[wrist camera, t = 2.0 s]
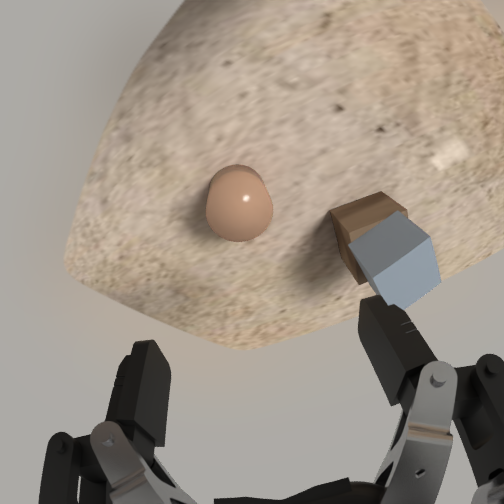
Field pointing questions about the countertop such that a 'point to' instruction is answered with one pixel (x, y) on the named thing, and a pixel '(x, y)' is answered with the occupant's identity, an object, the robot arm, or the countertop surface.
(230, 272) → the countertop surface
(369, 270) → the tower top
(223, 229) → the tan rounded cylinder
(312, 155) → the countertop surface
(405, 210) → the tower base
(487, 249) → the countertop surface
